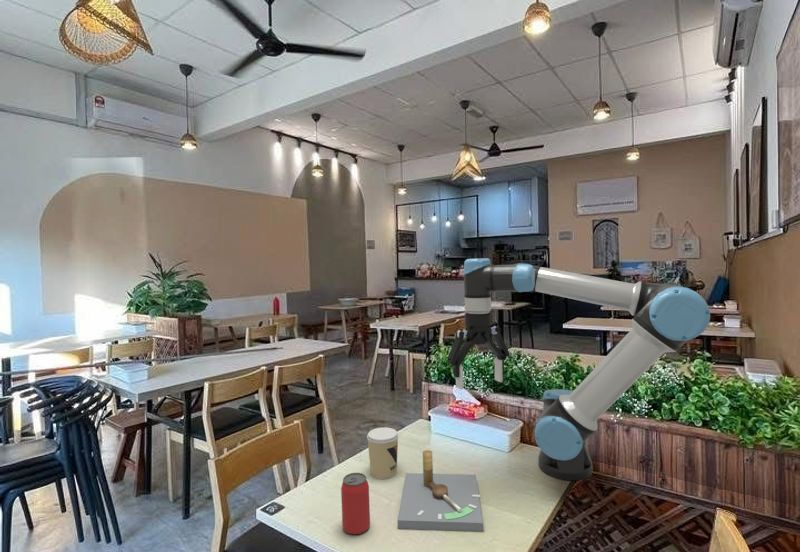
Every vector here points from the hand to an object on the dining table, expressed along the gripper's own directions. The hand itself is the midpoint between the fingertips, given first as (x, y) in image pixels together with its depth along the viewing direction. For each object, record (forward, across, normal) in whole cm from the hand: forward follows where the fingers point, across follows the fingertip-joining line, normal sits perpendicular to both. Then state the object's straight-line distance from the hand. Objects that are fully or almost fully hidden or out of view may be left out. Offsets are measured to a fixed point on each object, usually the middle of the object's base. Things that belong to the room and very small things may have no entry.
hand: (479, 384), depth 123 cm
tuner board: (+27, +18, +7) cm, 33 cm away
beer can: (+27, +41, +6) cm, 49 cm away
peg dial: (+24, +18, +7) cm, 31 cm away
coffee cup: (+27, +25, -14) cm, 40 cm away
